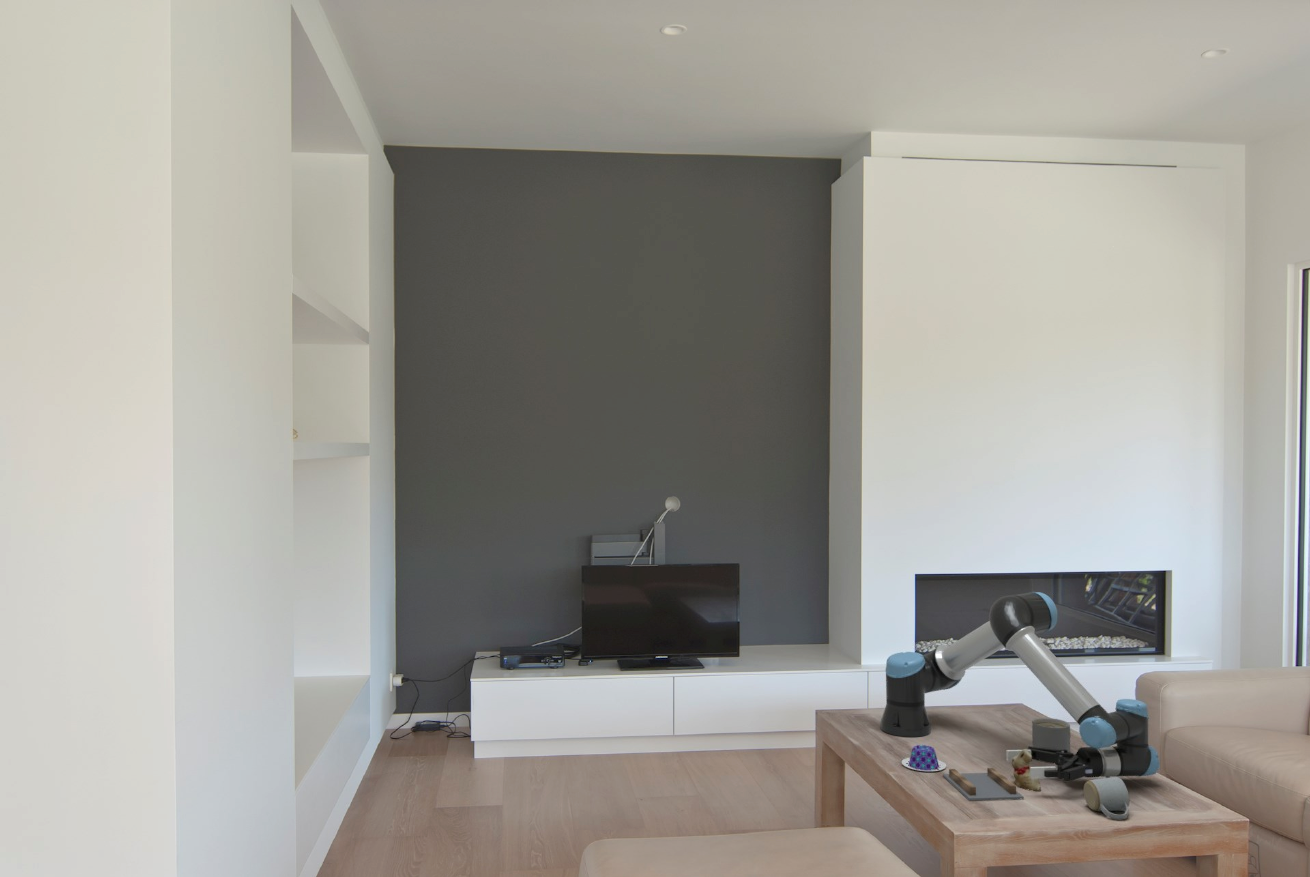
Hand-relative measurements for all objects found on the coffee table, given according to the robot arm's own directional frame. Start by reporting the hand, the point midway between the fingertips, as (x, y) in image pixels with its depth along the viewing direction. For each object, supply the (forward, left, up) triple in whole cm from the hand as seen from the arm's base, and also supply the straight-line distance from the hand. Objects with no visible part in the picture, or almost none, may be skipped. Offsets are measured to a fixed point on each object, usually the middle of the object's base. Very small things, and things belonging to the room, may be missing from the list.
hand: (1018, 764), depth 247 cm
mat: (0, -10, -6) cm, 11 cm away
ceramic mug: (+18, +14, -6) cm, 24 cm away
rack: (0, -10, -6) cm, 11 cm away
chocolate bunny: (0, +2, -6) cm, 6 cm away
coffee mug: (-22, +21, -6) cm, 31 cm away
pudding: (-18, -19, -6) cm, 27 cm away
